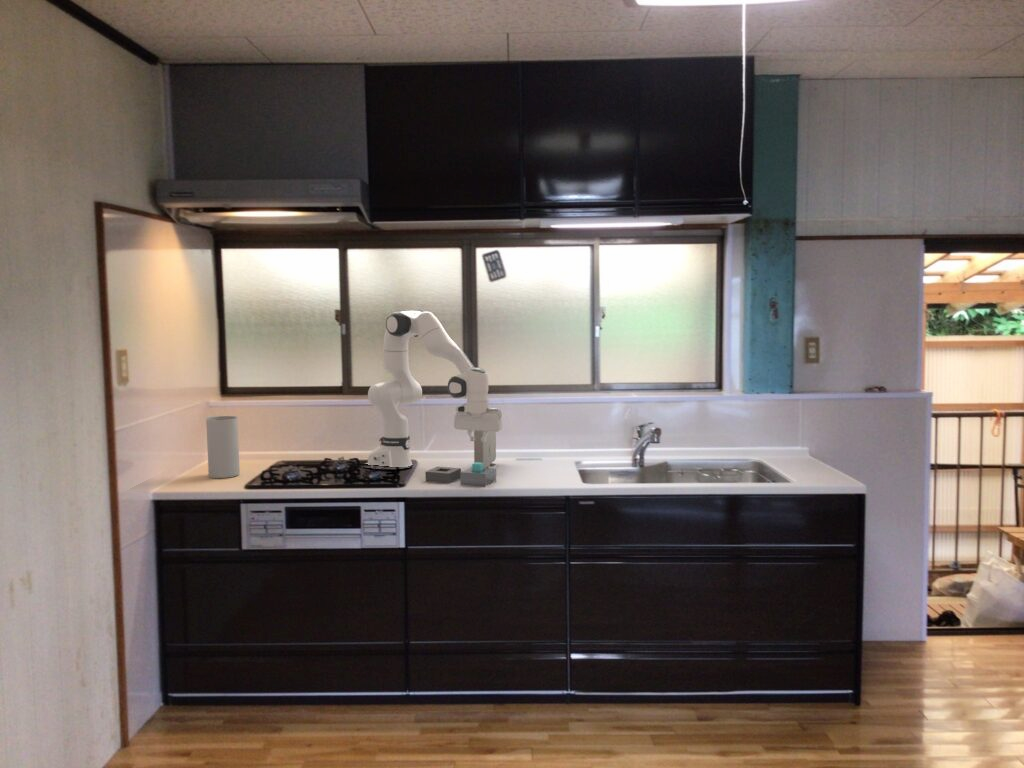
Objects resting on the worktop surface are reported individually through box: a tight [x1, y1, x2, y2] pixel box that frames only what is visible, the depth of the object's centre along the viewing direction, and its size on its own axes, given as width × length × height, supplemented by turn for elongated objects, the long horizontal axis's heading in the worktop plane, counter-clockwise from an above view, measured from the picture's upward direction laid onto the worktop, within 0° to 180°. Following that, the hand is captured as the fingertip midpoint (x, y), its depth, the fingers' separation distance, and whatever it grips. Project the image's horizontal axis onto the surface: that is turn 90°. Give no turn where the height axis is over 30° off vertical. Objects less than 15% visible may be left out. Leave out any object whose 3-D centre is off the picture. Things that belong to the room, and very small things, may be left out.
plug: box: [471, 462, 484, 472], centre depth 314 cm, size 4×4×8 cm
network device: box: [473, 430, 499, 469], centre depth 341 cm, size 26×9×20 cm, turn 168°
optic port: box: [459, 466, 497, 487], centre depth 315 cm, size 11×11×5 cm
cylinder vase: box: [205, 415, 241, 479], centre depth 328 cm, size 12×12×25 cm
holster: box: [424, 466, 462, 484], centre depth 321 cm, size 11×11×4 cm
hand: (478, 441), depth 313 cm, fingers open, 3 cm apart
